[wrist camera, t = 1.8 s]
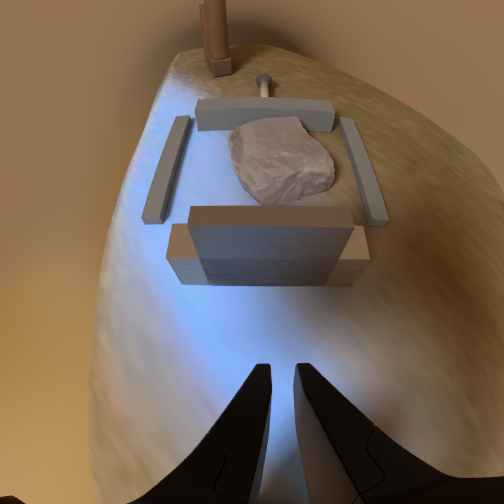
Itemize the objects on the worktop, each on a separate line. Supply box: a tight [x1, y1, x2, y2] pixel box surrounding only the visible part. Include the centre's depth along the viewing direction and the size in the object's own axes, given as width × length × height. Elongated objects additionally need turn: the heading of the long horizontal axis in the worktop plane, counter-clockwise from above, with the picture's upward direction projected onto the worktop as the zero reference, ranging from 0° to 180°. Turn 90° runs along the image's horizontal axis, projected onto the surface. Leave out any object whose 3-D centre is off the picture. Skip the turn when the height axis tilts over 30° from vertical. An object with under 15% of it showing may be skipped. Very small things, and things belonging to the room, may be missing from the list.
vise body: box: [141, 74, 389, 227], centre depth 33 cm, size 29×25×4 cm
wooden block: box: [199, 0, 232, 77], centre depth 39 cm, size 4×11×18 cm, turn 16°
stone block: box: [228, 116, 335, 206], centre depth 30 cm, size 12×5×10 cm
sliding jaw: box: [166, 206, 370, 286], centre depth 21 cm, size 3×15×9 cm, turn 89°
